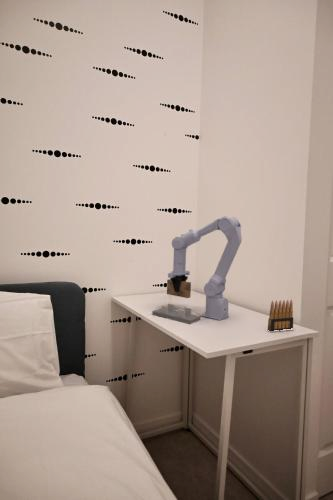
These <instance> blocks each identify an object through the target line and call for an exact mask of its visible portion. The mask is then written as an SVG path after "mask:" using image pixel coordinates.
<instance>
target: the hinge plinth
mask: <svg viewBox="0 0 333 500" xmlns="http://www.w3.org/2000/svg"><path fill="white" fill-rule="evenodd" d="M160 306H161V308H158V309H156V310H152V311H151V312H152V313H151V315H153V316H157V317H160V318H164V319H168V320H172V321H177V322H180V323H185V324H188V325H191V324H194V323H196V322H199V321H201V320H202V319H201V318H202V316H200V315H196V314H192V307H187V306H185V307H184V308H183V309H181V308H178V309H177V310H175V309H176V308H175V304H174V303H167V305H160Z"/></svg>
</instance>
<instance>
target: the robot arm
mask: <svg viewBox="0 0 333 500" xmlns="http://www.w3.org/2000/svg"><path fill="white" fill-rule="evenodd" d="M216 231H220V232H222V234H224V235H225V237H226V240H227V243H226V245H225V248H224V250H223V251H222V254H221V256H220V259H219V262H218V264H217V266H216V269H215V271H214V273H213V275H211V276H210V278H209V280H208V282H207V283H205V285H204V286H203V292H204V293H205V311H204V312H205V313H203V314H201V317H206V318H209V319H214V320H219V321H221V320H224V319H226V318H228V317H229V300H228V299H227V298H225V297H224V295H223V293H224V292H225V289H226V283H227V282H226V281H227V279H226V278H227V275H228V273H229V271H230V269H231V266H232V264H233V262H234V259H235V257H236V255H237V253H238V250H239V248H240V246H241V244H242V239H243V238H242V225H241V223H240V221H239V219H237V218H236V217H235V216H234V217H233V216H232V217H230V216H222V217H221V218H217V219H215V220H213V221H212V222H210V223H208V224H206V225H204V226H203V227H202V228H199V229H198V230H197V229H189V230H188V232H186V233H183V234H180V236H175V237H174V238H173V239H172V241H171V247H172V248H173V260H172V261H173V262H172V263H173V264H172V270H171V271H170V272H168V273H167V278H169V279H171V281H172V283H173V287H174V291H175V292H179V289H180V283H181V281H185V282H187V280H189V279H188V277H189V276H190V274H191V272H190V271H191V270H186V263H187V258H186V257H187V249H188V247H190V246H191V245H194V244H196V243H198V242H199V241H201V239H202V237H204V236H206V235H208V234H211V233H212V232H216Z"/></svg>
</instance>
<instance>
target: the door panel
mask: <svg viewBox="0 0 333 500" xmlns="http://www.w3.org/2000/svg"><path fill="white" fill-rule="evenodd" d="M166 281H167V283H166V295H169V296H174V297H180V298H185V299H189V298H190V299H191V296H192V295H191V292H192V291H191V288H192V284H191V283H192V282H190V281H186V282H185V281H181V283H180V289H179V292H175V291H174V287H173V283H172V281H171V279H170V278H169V279H167V280H166Z"/></svg>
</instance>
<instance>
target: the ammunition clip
mask: <svg viewBox="0 0 333 500" xmlns="http://www.w3.org/2000/svg"><path fill="white" fill-rule="evenodd" d="M293 304H294V303H293V300H292V299H290V301H289V300H288V299H287V300H286V302H285V300H284V299H283V301H281V300H279V302H278V300H275V302H274V300H272V301H271V303H270V308H269V309H270V310H269V318H268V321H267V323H268V324H267V331H268V330H269V331H274V330H283V329H291V328H293V329H294V313H293V312H294V309H293ZM269 331H268V332H269Z"/></svg>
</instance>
